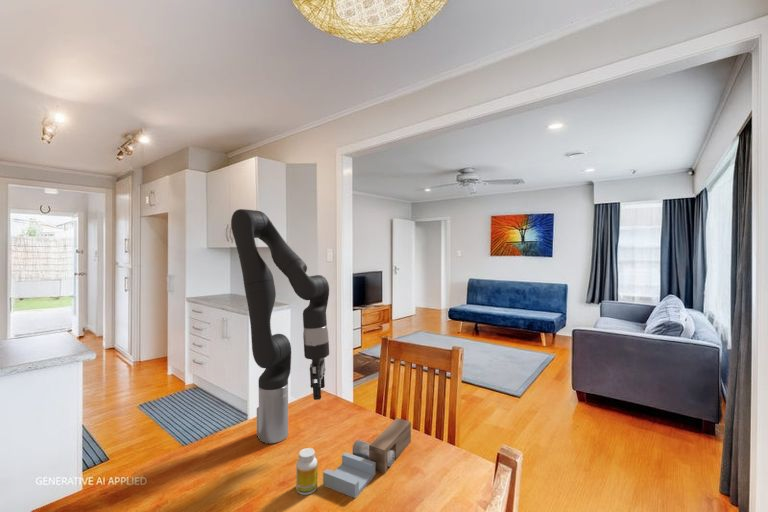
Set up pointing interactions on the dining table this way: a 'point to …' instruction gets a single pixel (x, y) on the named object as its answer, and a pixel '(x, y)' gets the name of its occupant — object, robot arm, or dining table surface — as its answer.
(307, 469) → the supplement bottle
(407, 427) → the beam
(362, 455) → the axle
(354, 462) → the cradle
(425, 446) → the dining table surface
